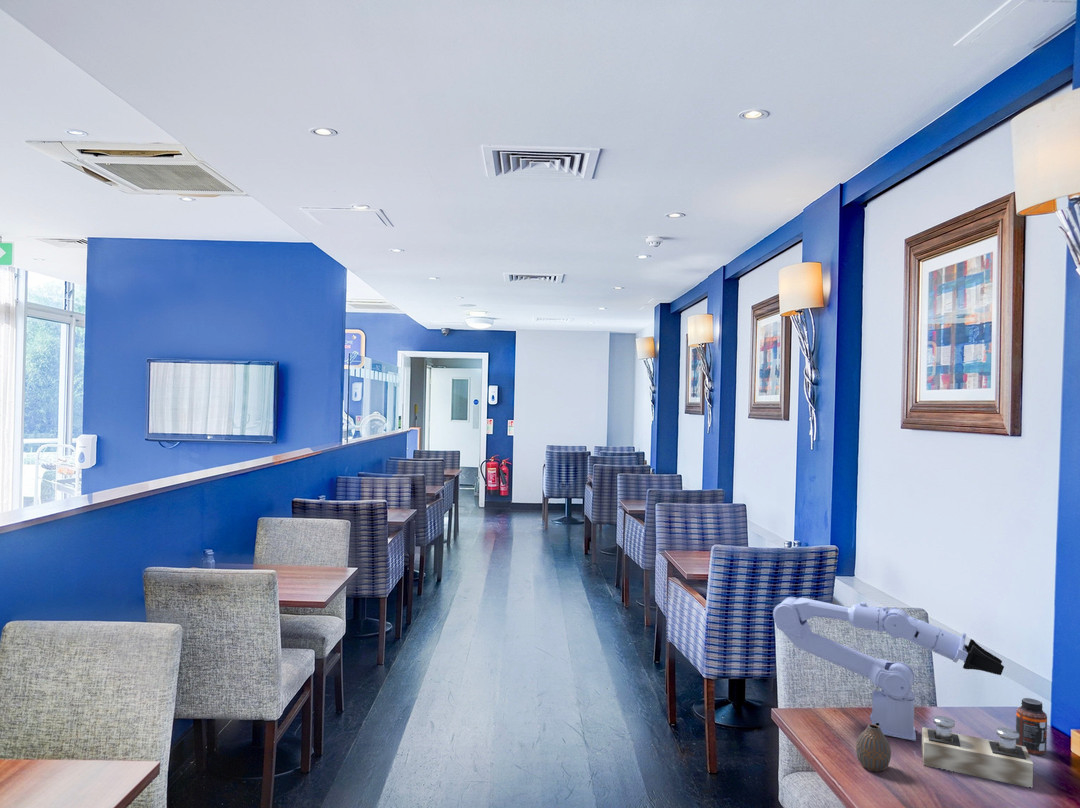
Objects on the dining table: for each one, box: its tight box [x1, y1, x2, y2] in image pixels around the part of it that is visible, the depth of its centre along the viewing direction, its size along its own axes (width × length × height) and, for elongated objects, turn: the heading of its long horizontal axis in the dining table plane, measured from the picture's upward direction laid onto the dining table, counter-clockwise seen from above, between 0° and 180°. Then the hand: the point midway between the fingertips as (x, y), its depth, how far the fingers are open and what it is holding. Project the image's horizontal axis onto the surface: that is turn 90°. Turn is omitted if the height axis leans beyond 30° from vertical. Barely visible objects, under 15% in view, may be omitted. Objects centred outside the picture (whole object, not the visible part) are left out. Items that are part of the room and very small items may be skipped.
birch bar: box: [921, 726, 1034, 789], centre depth 161 cm, size 20×9×5 cm, turn 65°
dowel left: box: [932, 715, 956, 741], centre depth 163 cm, size 4×4×5 cm
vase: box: [855, 723, 892, 772], centre depth 159 cm, size 7×7×9 cm
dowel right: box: [995, 726, 1019, 754], centre depth 158 cm, size 4×4×5 cm
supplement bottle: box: [1015, 697, 1048, 756], centre depth 171 cm, size 6×6×11 cm
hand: (1001, 667), depth 167 cm, fingers open, 7 cm apart
